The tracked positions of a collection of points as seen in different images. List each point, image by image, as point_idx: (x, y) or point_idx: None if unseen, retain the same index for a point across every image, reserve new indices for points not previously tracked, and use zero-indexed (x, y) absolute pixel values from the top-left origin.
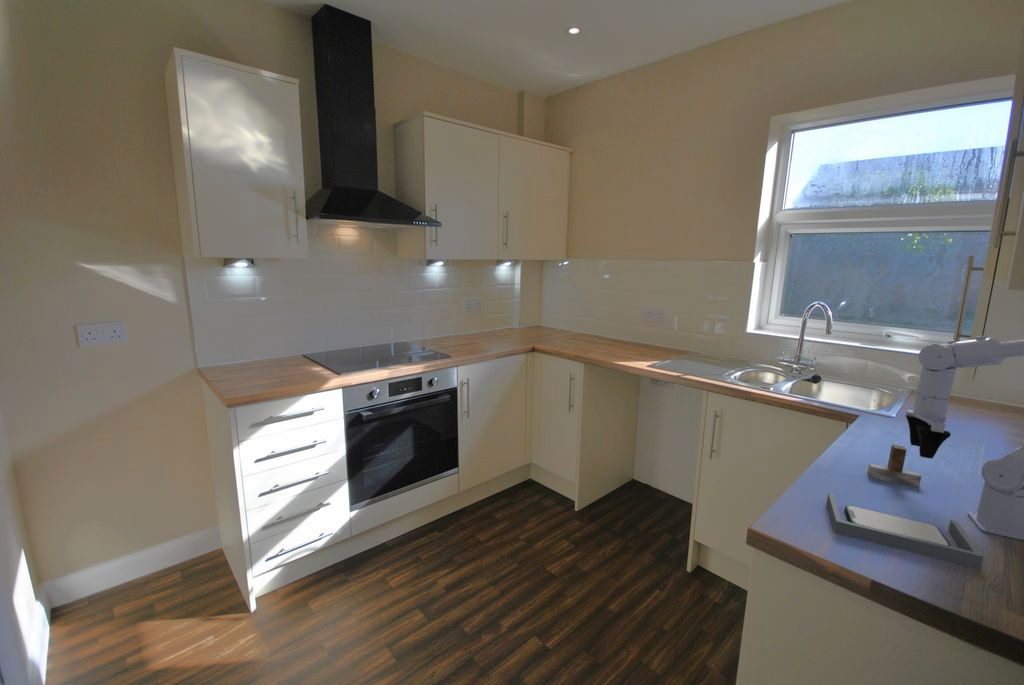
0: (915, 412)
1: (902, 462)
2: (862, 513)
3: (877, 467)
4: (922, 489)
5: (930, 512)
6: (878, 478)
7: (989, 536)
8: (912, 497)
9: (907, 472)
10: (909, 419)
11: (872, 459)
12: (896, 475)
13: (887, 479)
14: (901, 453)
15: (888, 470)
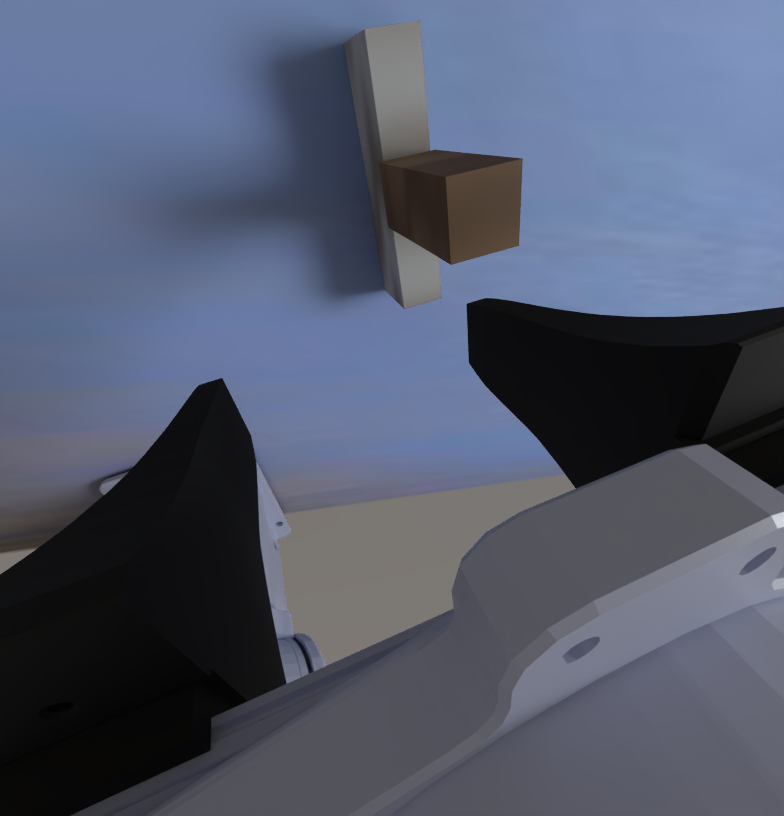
0: (522, 755)
1: (411, 233)
2: None
3: (379, 82)
4: (370, 302)
5: (106, 344)
6: (354, 106)
7: (84, 496)
8: (230, 273)
9: (412, 252)
10: (673, 360)
11: (624, 83)
12: (381, 200)
13: (365, 157)
14: (434, 229)
15: (381, 155)
